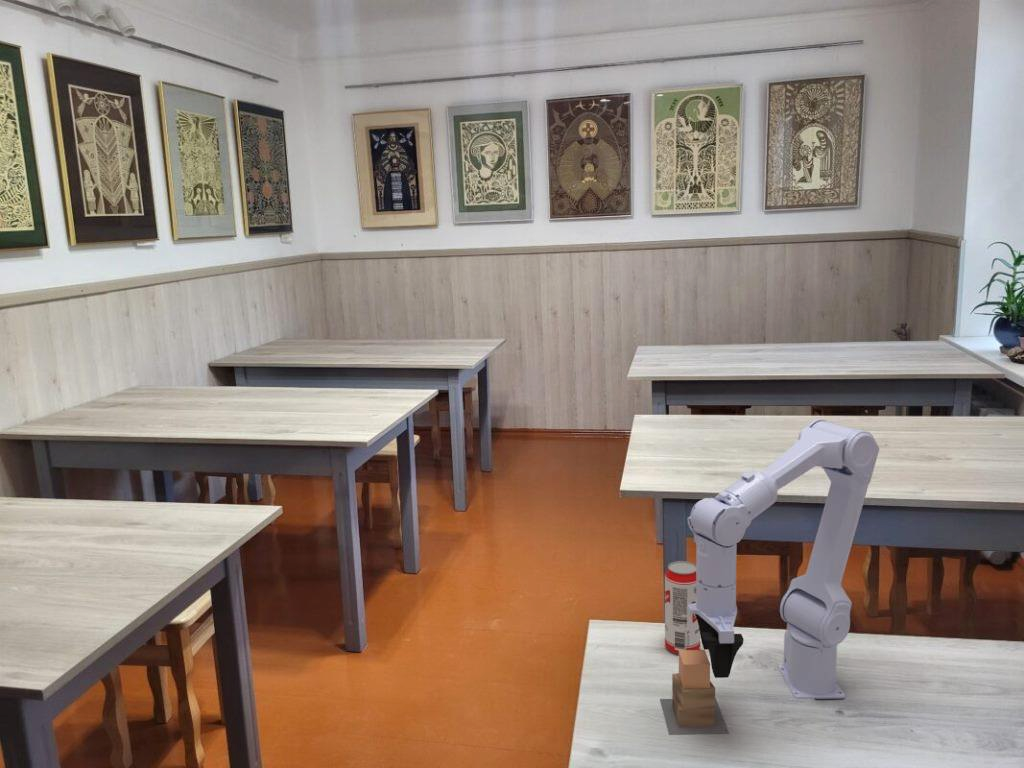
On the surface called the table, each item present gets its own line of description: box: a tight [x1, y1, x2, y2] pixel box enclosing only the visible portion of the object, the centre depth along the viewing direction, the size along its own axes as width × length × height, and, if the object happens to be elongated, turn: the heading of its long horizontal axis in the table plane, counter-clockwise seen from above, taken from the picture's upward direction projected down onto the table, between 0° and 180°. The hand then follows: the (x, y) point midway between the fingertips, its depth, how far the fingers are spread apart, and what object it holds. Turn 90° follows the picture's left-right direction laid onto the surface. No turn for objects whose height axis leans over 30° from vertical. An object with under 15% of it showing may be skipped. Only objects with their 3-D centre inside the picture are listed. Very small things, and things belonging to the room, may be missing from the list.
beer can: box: [664, 560, 701, 656], centre depth 139 cm, size 6×6×16 cm
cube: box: [678, 649, 711, 688], centre depth 120 cm, size 4×4×4 cm
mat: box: [659, 697, 730, 736], centre depth 121 cm, size 9×9×1 cm
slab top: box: [671, 672, 716, 710], centre depth 120 cm, size 5×5×3 cm
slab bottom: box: [671, 690, 715, 727], centre depth 121 cm, size 6×6×3 cm
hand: (715, 661), depth 118 cm, fingers open, 7 cm apart
